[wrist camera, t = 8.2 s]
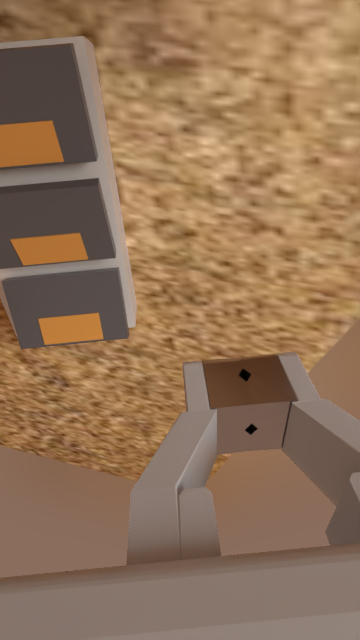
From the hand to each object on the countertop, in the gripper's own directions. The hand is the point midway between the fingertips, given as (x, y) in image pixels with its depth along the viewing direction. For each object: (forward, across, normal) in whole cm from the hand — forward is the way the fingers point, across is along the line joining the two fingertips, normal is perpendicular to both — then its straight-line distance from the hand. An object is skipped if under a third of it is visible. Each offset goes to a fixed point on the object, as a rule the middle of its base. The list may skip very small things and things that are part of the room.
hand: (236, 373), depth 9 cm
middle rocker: (+18, +10, +2) cm, 21 cm away
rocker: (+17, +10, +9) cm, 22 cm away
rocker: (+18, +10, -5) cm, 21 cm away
